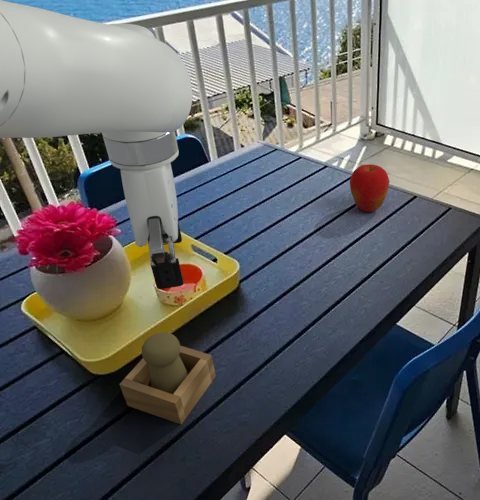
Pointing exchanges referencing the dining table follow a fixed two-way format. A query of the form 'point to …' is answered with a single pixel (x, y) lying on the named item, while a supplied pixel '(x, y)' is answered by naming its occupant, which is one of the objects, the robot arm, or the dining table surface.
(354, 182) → the apple
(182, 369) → the olive rounded figure
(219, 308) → the dining table surface
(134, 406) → the frame
